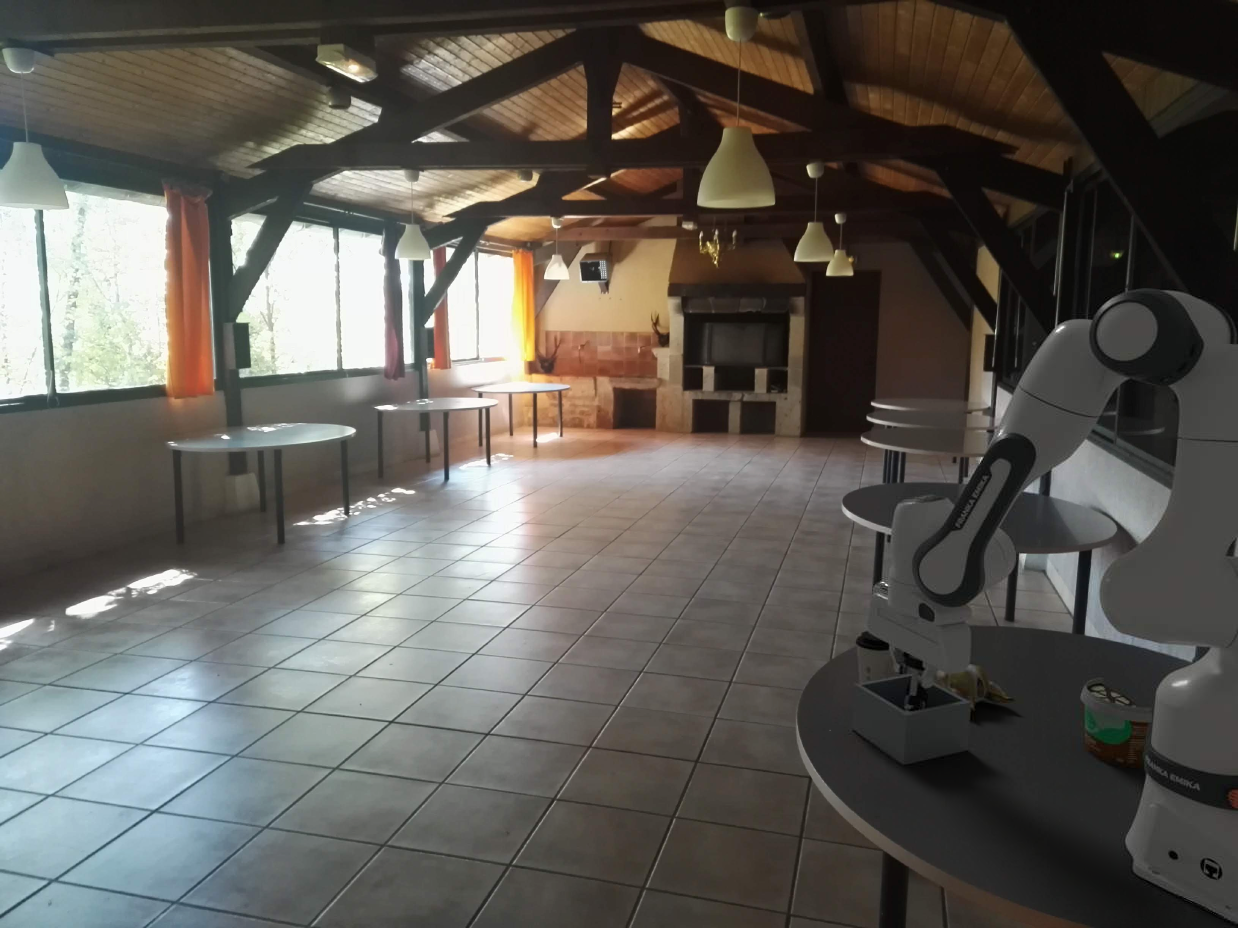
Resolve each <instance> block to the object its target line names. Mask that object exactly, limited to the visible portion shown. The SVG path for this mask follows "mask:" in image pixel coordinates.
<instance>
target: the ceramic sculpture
mask: <svg viewBox="0 0 1238 928" xmlns="http://www.w3.org/2000/svg"><path fill="white" fill-rule="evenodd" d="M933 682H934V683H936V684H937V685H939V686H941V687H943V688H945V689H947V690H949V691H951V692H953V693H955V694H956V695H958V696H960V697H962V698H964V699H966V700H968V701H970V702H971V710H970V712H975V711H976V710H975V709H976V708H975V707H976V703H979V702H981V701H982V700H983V699H986V700H987V701H989V702H991V703H994V704H1011V703H1015V702H1016V699H1015V698H1014V697H1013V698H1012V697H1009V696H1008V695H1007V694H1006V692H1004V690H1003V688H1001V687H1000V686H999V685H997V684H996V682H994V681H991V680H989V679H988V675H987V672H986V671H985V669H983V668H982V667H981V666H980V665H979V664H977V663H975V662H972V661H970V663H969V667H968V668H967V669H966V670H965V671H964V672H960V673H955V674H946V673H944V672H943V671H941V670H938V671H937V672H936V674H935V675H934V676H933Z"/></svg>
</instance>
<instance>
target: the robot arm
mask: <svg viewBox="0 0 1238 928" xmlns="http://www.w3.org/2000/svg"><path fill="white" fill-rule="evenodd" d="M1235 325H1236V324H1235V323H1234V321H1233V319H1232V318H1231V316H1230V315H1229V314H1228V312H1226V311H1225V310H1224V309H1223V308H1222V307H1221V306H1219V305H1218V304H1216V303H1214V302H1212V301H1209V300H1205V299H1201V298H1198V297H1195V296H1193V295H1191V294H1189V293H1185V292H1182V291H1176V290H1175V291H1174V290H1168V289H1167V290H1163V289H1162V290H1161V289H1158V288H1157V289H1156V288H1149V287H1147V288H1138V289H1137V288H1136V289H1132V290H1127V291H1124V292H1122V293H1120V294H1117V295H1116V296H1113V297H1112V298H1111V299H1109V300H1108V301H1106V302H1105V303H1104V304H1103V305H1102V306H1101V307H1100V308H1099V309H1098V310H1097V312H1096V313H1095V314H1094V316H1093V318H1092V319H1086V318H1085V319H1084V318H1078V319H1077V318H1074V319H1068V320H1066V321H1064V322H1061V323H1059V324H1058V325H1057V326H1055V327H1054V328H1053V330H1051V333H1050V334H1049V335H1047V337H1046V339H1045V340H1044V341H1043V343H1042V344H1041V346H1040V347H1039V348H1038V349H1037V351H1036V353H1034V355H1033V357H1032V359H1031V360H1030V362H1029V363H1028V365H1027V367H1026V369H1025V371H1024V372H1023V374H1022V376H1021V378H1020V379H1019V381H1018V384H1017V385H1016V387H1015V390H1014V392H1013V394H1012V396H1011V398H1010V400H1009V402H1008V404H1007V407H1006V409H1005V411H1004V413H1003V416H1002V418H1001V420H1000V422H999V424H998V426H997V429H996V431H995V432H994V434H993V436H992V439H991V440H990V442H989V444H988V446H987V448H986V451H985V452H984V455H983V457H982V458H981V460H980V462H979V464H977V467H976V468H975V470H974V471H973V473H972V475H971V477H970V479H969V480H968V481H967V484H966V485H965V487H964V489H963V490H962V492H961V495H960V497H959V498H958V500H957V502H956V503H955V504H954V503H953V502H952V501H951V500H950V498H948V497H947V496H943V495H940V494H921V495H917V496H916V495H915V496H911V497H908V498H905V499H903V500H901V501H899V503H897V505H896V507H895V509H894V514H893V519H892V524H891V531H890V533H891V534H890V543H889V545H890V546H889V547H890V555H891V566H890V569H889V572H888V582H886V581H884V580H883V581H882V580H880V581H879V582H876V583H875V585H873V587H872V594H871V597H870V598H869V599H870V600H869V603H868V609H867V614H866V615H867V616H866V629H867V631H868V632H869V633H870V634H871V635H873V636H875V637H877V638H879V639H881V640H883V641H885V642H887V643H889V650H890V653H891V656H892V658H891V660H892V661H893V668H892V669H893V672H895V673H897V674H898V675H906V674H908V671H909V668H908V666H906V665H905V664H904V660H905V658H904V657H903V653H904V652H906V653H908V654H910V655H912V656H914V657H916V658H918V659H920V660H921V661H923V667H924V668H925V670H924V672H923V674H918V681H917V683H918V684H919V685H920V686H922V687H924V688H929V687H932V685H933V676H934V675H935V674H936V672H937V671H938V670H941V671H943V672H944V673H946V674H955V673H960V672H964V671H965V670H966V669H967V668H968V667H969V663H970V662H971V651H972V631H971V628H970V627H969V624H968V623H967V621H971V620H972V615H973V611H972V608H971V606H970V605H968V604H969V603H971V601H973V600H974V599H976V597H978V596H979V595H980V594H982V593H984V592H985V591H987V590H990V589H991V588H993V587H994V586H996V585H997V584H999V583H1000V582H1003V581H1004V580H1005V579H1007V578H1008V577H1009V576H1010V575H1011V574H1012V573H1013V571H1014V569H1015V568H1016V564H1017V560H1018V558H1017V556H1018V555H1017V554H1018V553H1017V549H1016V546H1015V543H1014V541H1013V539H1012V537H1011V536H1010V535H1009V534H1008V533H1007V532H1006V531H1005V530H1004V529H1003V528H1001V525H1002V523H1003V522H1004V521H1005V519H1006V517H1007V515H1008V514H1009V512H1010V510H1011V509H1012V507H1013V506H1014V503H1015V502H1016V500H1017V499H1018V498H1019V497H1020V495H1021V494H1023V492H1024V491H1025V490H1026V489H1027V488H1028V487H1030V485H1032V484H1033V483H1034V482H1035V481H1036V480H1038V479H1039V478H1041V477H1042V476H1044V475H1045V474H1047V473H1048V472H1050V471H1051V470H1052V469H1054V468H1056V467H1058V466H1059V465H1061V464H1062V463H1064V462H1065V461H1067V460H1068V459H1070V458H1071V457H1072V455H1074V453H1076V451H1077V450H1078V449H1079V448H1080V447H1081V445H1082V444H1083V443H1084V441H1085V440H1086V439H1087V438H1088V436H1089V435H1090V434H1091V432H1092V430H1093V429H1094V427H1095V425H1096V424H1097V422H1098V420H1099V419H1100V416H1101V415H1102V413H1103V412H1104V409H1105V407H1106V405H1107V403H1108V401H1109V400H1110V398H1111V397H1112V396H1113V393H1114V391H1116V389H1117V388H1118V387H1119V386H1120V385H1121V384H1123V383H1124V382H1126V381H1128V380H1129V379H1130V380H1135V381H1139V382H1142V383H1146V384H1148V385H1152V386H1155V387H1159V388H1166V387H1169V388H1170V389H1171V390H1173V392H1174V393H1175V395H1176V397H1177V400H1178V405H1179V421H1178V430H1177V437H1178V438H1177V443H1176V457H1175V465H1174V471H1173V472H1174V473H1173V480H1172V485H1171V491H1170V495H1169V500H1168V503H1167V505H1166V508H1165V510H1164V512H1163V514H1162V516H1161V518H1160V520H1159V521H1158V523H1157V524H1156V526H1155V527H1154V529H1152V531H1151V532H1150V534H1148V535H1147V536H1146V538H1144V540H1142V541H1141V542H1140V543H1139V544H1138V545H1137V546H1135V547H1133V548H1132V549H1131V550H1130V551H1127V552H1126V553H1125V554H1123V555H1120V556H1119V557H1117V558H1116V559H1115V560H1114V561H1113V562H1112V563H1110V564H1109V566H1108V567H1107V568H1106V570H1105V571H1104V574H1103V576H1102V578H1101V579H1100V580H1101V581H1100V583H1099V588H1098V590H1099V591H1098V595H1099V596H1098V597H1099V603H1100V606H1101V610H1102V612H1103V615H1104V617H1105V618H1106V619H1107V621H1108V622H1109V623H1110V625H1111V626H1112V627H1113V628H1114V629H1115V631H1117V632H1118V633H1120V634H1123V635H1127V636H1131V637H1134V638H1138V639H1140V640H1145V641H1148V642H1149V641H1150V642H1154V643H1158V644H1163V645H1164V644H1166V645H1178V646H1189V647H1190V646H1191V647H1202V648H1209V650H1208V651H1207V653H1206V654H1204V656H1202V657H1201V658H1200V659H1199V660H1197V661H1196V662H1194V663H1192V664H1190V665H1187V666H1185V667H1182V668H1179V669H1176V670H1174V671H1172V672H1170V673H1169V674H1167V675H1166V677H1164V678H1163V680H1162V681H1161V682H1160V683H1159V685H1158V686H1157V689H1156V691H1155V698H1154V699H1155V701H1154V709H1153V717H1152V729H1151V737H1149V738H1148V739H1147V742H1146V748H1145V754H1144V763H1143V768H1144V772H1145V780H1144V785H1143V791H1142V795H1141V798H1140V802H1139V806H1138V808H1137V811H1136V815H1135V817H1134V820H1133V822H1132V824H1131V826H1130V829H1129V831H1128V832H1127V834H1126V836H1125V846H1126V848H1127V851H1128V853H1130V855H1131V856H1132V859H1133V862H1132V870H1133V872H1134V873H1135V874H1136V875H1137V876H1138V877H1140V878H1142V879H1143V880H1146V881H1149V882H1150V883H1152V884H1154V885H1155V886H1158V887H1160V888H1162V889H1164V890H1166V891H1168V892H1171V893H1172V894H1173V895H1176V894H1177V895H1176V896H1178V895H1179V896H1178V897H1180V896H1182V897H1184V898H1187V899H1188V900H1190V901H1193V902H1196V903H1198V904H1201V905H1202V906H1205V907H1207V908H1208V909H1209V910H1212V911H1213V912H1216V913H1218V914H1219V915H1221V916H1223V917H1224V918H1227V919H1228V920H1230V921H1235V922H1237V923H1238V556H1228V555H1227V553H1228V550H1229V548H1230V546H1231V545H1232V544H1233V542H1234V541H1235V540H1236V539H1237V538H1238V342H1237V341H1238V333H1237V328H1236V326H1235ZM1182 897H1181V898H1182ZM1184 898H1183V899H1184ZM1188 900H1187V901H1188ZM1190 901H1189V902H1190ZM1224 918H1223V919H1224ZM1228 920H1227V921H1228ZM1230 921H1229V922H1230Z"/></svg>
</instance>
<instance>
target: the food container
mask: <svg viewBox="0 0 1238 928" xmlns="http://www.w3.org/2000/svg"><path fill="white" fill-rule="evenodd" d="M1080 701H1081V702H1082V703H1083V704H1084V715H1085V716H1084V719H1085V721H1084V725H1085V726H1084V733H1085V734H1084V736H1085V737H1084V739H1085V740H1084V741H1085V743H1084V744H1085V745H1084V748H1085V750H1086V752H1087V753H1088V754H1089V755H1091V756H1092V757H1094V758H1096V759H1097V760H1100V761H1103V762H1105V763H1108V764H1111V765H1114V766H1120V767H1125V768H1133V769H1134V768H1135V769H1136V768H1138V769H1139V768H1142V767H1141V765H1142V760H1143V755H1144V750H1145V746H1146V745H1145V744H1146V739H1147V734H1148V729H1149V723H1152V724H1153V713H1152V707H1140V706H1139V705H1137V704H1135V702H1133V701H1132V700H1131V699H1130V698H1129V697H1128V696H1126V695H1125V694H1124V693H1120V692H1118V691H1115V690H1113V689H1111V688H1110V687H1108V686H1107V685H1105V684H1104V678H1103V677H1098V678H1093V679H1090V680H1088V681H1087V682H1086V684H1084V686H1083V689H1082V691H1081V694H1080Z"/></svg>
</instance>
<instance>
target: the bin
mask: <svg viewBox="0 0 1238 928" xmlns="http://www.w3.org/2000/svg"><path fill="white" fill-rule="evenodd" d="M911 678H912V673H906V674H900V675H896V676H892V677H891V676H890V677H888V678H885V679H879V680H874V681H868V682H863V683H860V682H858V683H854V684H853V698H852V699H853V701H852V720H851V721H852V722H851V724H852V725H851V729H852V728H853V729H854V730H855V731H857V732H858V733H859V734H861V735H862V736H863V737H865V738H866V739H867V740H869V741H870V742H871V743H870V742H869V741H868V742H869V743H870V744H872V743H873V744H874V745H873V744H872V745H873V746H875V745H876V746H875V747H877V749H879V748H880V749H879V750H880V751H882V750H883V751H882V752H884V753H885V754H887V755H888V756H890V757H891V758H892V759H894V760H895V761H897V762H898V763H900V764H902V765H903V766H904V765H905V766H906V765H909V764H914V763H918V762H923V761H927V760H931V759H936V758H939V757H944V756H945V757H946V756H948V755H949V756H950V755H953V754H957V753H962V752H966V751H968V750H969V738H970V737H969V735H970V724H971V723H970V722H971V721H970V720H971V711H970V710H971V702H970V701H968V700H966V699H964V698H962V697H960V696H958V695H956V694H955V693H953V692H951V691H949V690H947V689H945V688H943V687H941V686H939V685H937V684H936V683H934V682H933V685H932V687H929V688H924V689H927V691H926V693H928V698H927V706H926V709H921V710H917V711H912V712H905V711H904V700H905V697H906V696H907V695H906V688H907V685H909V683H910V681H911ZM863 737H862V738H863ZM866 739H865V740H866ZM867 740H866V741H867Z"/></svg>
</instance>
